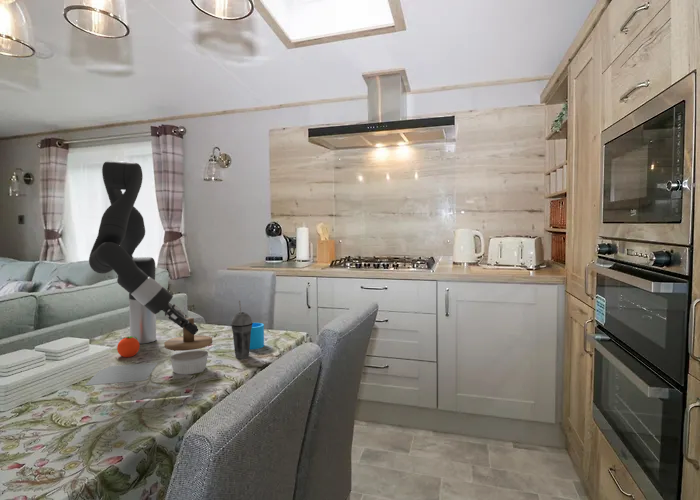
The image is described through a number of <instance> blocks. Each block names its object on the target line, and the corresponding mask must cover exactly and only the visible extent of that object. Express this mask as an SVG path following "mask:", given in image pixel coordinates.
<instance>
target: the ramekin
mask: <svg viewBox="0 0 700 500" xmlns="http://www.w3.org/2000/svg"><path fill="white" fill-rule="evenodd" d="M208 357H209V352H208V351H207V350H206V349H205V350H204V349H201V348H200V349H194V350H184V351H175V352H174V353H173V354H171V355H170V361H171V368H172V372H174V373H175V374H177V375H192V374H197V373H198V374H201V373H202V372H204V371H205V369H206V368H207V363H208V362H207V361H208Z"/></svg>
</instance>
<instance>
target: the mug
mask: <svg viewBox="0 0 700 500" xmlns="http://www.w3.org/2000/svg"><path fill="white" fill-rule="evenodd" d="M252 323H253V324H252V329H251V337H250V350H258V349H263V347H264V346H265V324H264V323H261V322H252Z"/></svg>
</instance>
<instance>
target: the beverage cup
mask: <svg viewBox="0 0 700 500" xmlns="http://www.w3.org/2000/svg"><path fill="white" fill-rule="evenodd" d="M238 307H239V312H238V313H236V314H235V315H233V317H232V319H231V324H230V327H231V331H232V337H233V339H232V340H233V346H234V354H235V358H236V359H239V360H242V359H243V360H244V359H248V358H249V357H250V352H251V351H250V350H251V349H250V337H251V329H252V324H253V323H254V322H253V319H252V317H251V316H250V315H249V314H248V313H247V312H242V307H241V299H239V300H238Z"/></svg>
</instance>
